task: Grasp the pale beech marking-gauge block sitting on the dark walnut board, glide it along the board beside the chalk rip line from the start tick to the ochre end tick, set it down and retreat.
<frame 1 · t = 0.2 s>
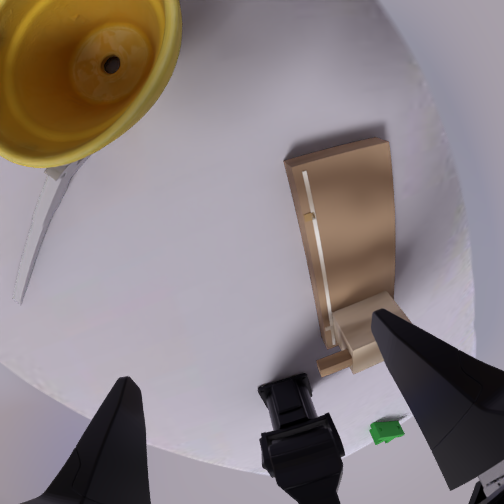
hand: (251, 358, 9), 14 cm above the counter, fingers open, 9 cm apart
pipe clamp: (380, 424, 54), on the counter
caliper: (47, 227, 20), on the counter
plant pot: (115, 64, 15), on the counter
walnut board: (348, 253, 26), on the counter
gauge: (360, 315, 28), point 2 cm above the counter, touching walnut board
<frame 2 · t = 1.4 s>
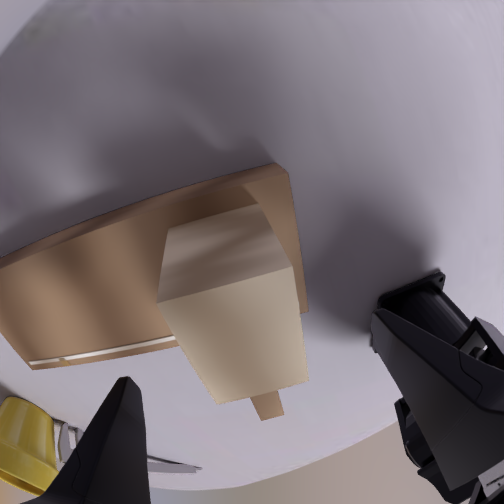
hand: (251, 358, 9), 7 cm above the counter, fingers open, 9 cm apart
caliper: (137, 449, 28), on the counter
plant pot: (29, 410, 21), on the counter
walnut board: (117, 281, 15), on the counter
gauge: (230, 272, 14), point 2 cm above the counter, touching walnut board
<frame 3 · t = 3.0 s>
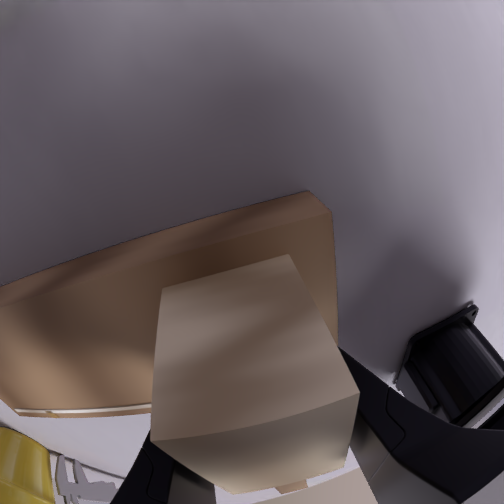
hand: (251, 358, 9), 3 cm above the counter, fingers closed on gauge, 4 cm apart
caliper: (138, 478, 24), on the counter
plant pot: (23, 440, 18), on the counter
walnut board: (103, 335, 12), on the counter
gauge: (246, 337, 10), point 2 cm above the counter, touching gripper, walnut board
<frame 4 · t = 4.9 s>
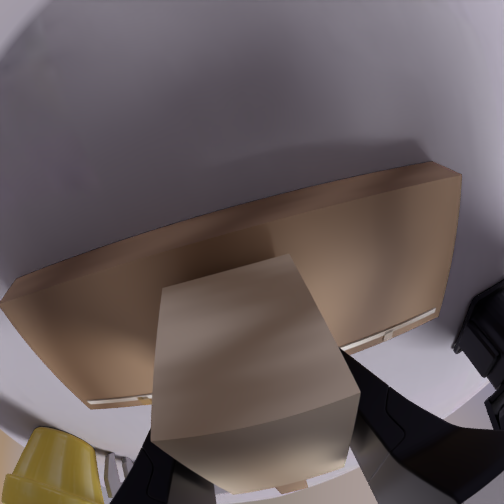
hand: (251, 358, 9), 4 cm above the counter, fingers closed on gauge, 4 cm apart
caliper: (189, 472, 25), on the counter
plant pot: (64, 439, 19), on the counter
walnut board: (237, 295, 13), on the counter
gauge: (246, 336, 10), point 3 cm above the counter, touching gripper
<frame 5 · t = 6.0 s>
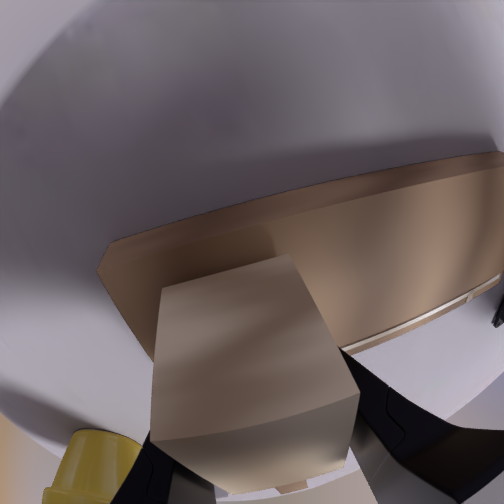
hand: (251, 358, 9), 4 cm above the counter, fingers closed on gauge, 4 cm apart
plant pot: (108, 441, 19), on the counter
walnut board: (363, 258, 13), on the counter
gauge: (246, 337, 10), point 3 cm above the counter, touching gripper
when the fingers open (3 cm above the counter, at t = 7.1 s): gauge stays where it is, resting on walnut board.
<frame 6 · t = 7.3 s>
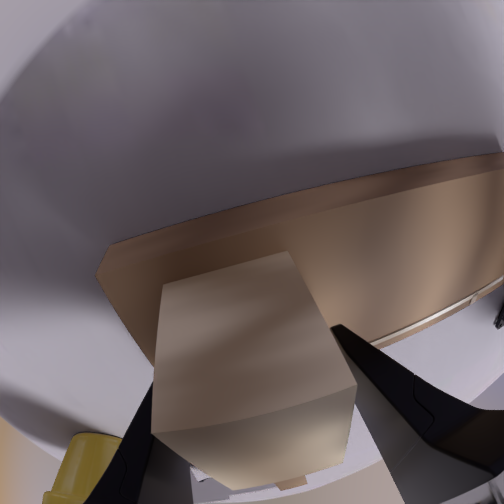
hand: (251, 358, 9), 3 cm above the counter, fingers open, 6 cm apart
caliper: (240, 468, 25), on the counter
plant pot: (108, 445, 19), on the counter
walnut board: (368, 261, 12), on the counter
gauge: (246, 333, 10), point 2 cm above the counter, touching walnut board
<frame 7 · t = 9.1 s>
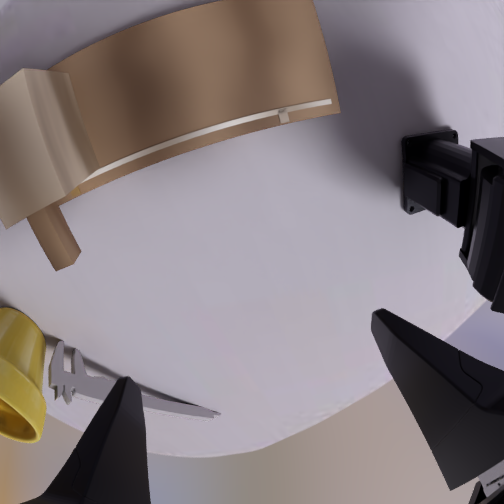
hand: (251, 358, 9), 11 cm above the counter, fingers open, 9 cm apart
caliper: (145, 383, 27), on the counter
plant pot: (19, 330, 21), on the counter
walnut board: (153, 91, 14), on the counter
gauge: (54, 134, 12), point 2 cm above the counter, touching walnut board
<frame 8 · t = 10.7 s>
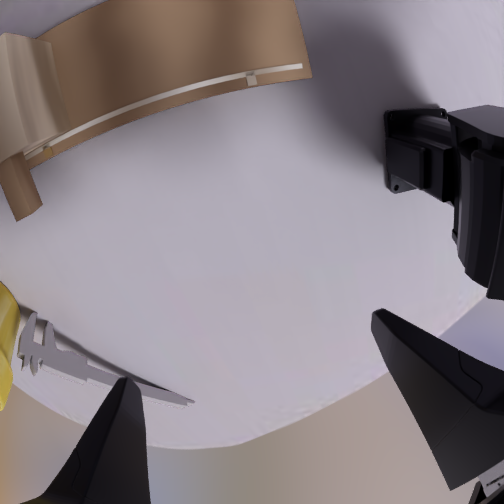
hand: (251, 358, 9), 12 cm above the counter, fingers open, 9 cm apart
caliper: (117, 363, 26), on the counter
walnut board: (128, 59, 13), on the counter
gauge: (33, 99, 11), point 2 cm above the counter, touching walnut board
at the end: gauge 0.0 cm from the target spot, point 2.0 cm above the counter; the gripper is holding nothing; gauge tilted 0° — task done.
